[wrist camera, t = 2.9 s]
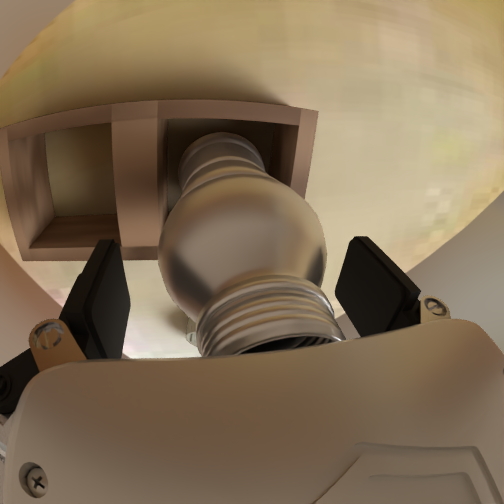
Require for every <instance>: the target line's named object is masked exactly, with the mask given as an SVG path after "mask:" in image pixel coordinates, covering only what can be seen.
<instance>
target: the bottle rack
mask: <svg viewBox="0 0 504 504" xmlns="http://www.w3.org/2000/svg"><path fill="white" fill-rule="evenodd" d="M168 118H213V119H236V120H251V121H263V122H274V123H275V127H274V136H273V144H272V152H271V161H270V169H269V176H271V177H272V178H274V179H276V180H278V181H279V182H281V183H283V184H285V185H287V186H288V187H290V188H291V189H292V190H293V191H295V192H296V193H297V194H298V195H299V196H300V197H302V198H303V199H305V193H306V188H307V182H308V176H309V170H310V164H311V158H312V152H313V145H314V139H315V132H316V125H317V118H318V111H315V110H309V109H303V108H297V107H291V106H284V105H276V104H267V103H258V102H246V101H232V100H208V99H171V100H148V101H134V102H123V103H114V104H106V105H98V106H91V107H85V108H79V109H73V110H68V111H63V112H58V113H54V114H49V115H45V116H41V117H37V118H33V119H29V120H26V121H22V122H19V123H15V124H12V125H9V126H6V127H3V128H0V169H1V176H2V182H3V188H4V193H5V198H6V203H7V207H8V212H9V216H10V220H11V224H12V228H13V231H14V235H15V238H16V242H17V245H18V248H19V251H20V254H21V257H22V260H23V261H88V260H89V258H90V256H91V254H92V252H93V250H94V248H95V246H96V245H97V243H98V241H99V240H101V239H114V241H115V243H119V244H120V249H121V255H122V260H158V245H159V239H160V235H161V233H162V230H163V228H164V225H165V223H166V221H167V218H168V216H169V214H170V212H168V202H167V127H168ZM109 122H112V157H113V174H114V186H115V197H116V207H117V214H103V215H83V216H67V217H55V213H54V207H53V202H52V196H51V190H50V183H49V176H48V168H47V159H46V148H45V133H46V132H50V131H56V130H61V129H66V128H72V127H79V126H85V125H92V124H100V123H109Z"/></svg>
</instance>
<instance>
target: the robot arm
mask: <svg viewBox="0 0 504 504" xmlns="http://www.w3.org/2000/svg"><path fill="white" fill-rule="evenodd" d="M420 292H421V290H420V289H419V288H418V287H417V286H416V285H415V284H414V283H413V282H412V281H411V280H410V278H409V277H408V276H407V275H406V274H405V273H404V272H403V271H402V270H401V269H400V268H399V267H398V266H397V265H396V264H395V263H394V262H393V261H392V260H391V259H390V258H389V257H388V256H387V255H386V254H385V253H384V252H383V251H382V250H381V249H380V248H379V247H378V246H377V245H376V244H375V243H374V242H373V241H372V240H371V239H370V238H369V237H367V236H355V237H354V238H353V240H351V241H350V242H349V246H348V249H347V252H346V256H345V259H344V263H343V266H342V269H341V272H340V276H339V279H338V282H337V285H336V288H335V296H336V298H337V300H338V301H339V303H340V304H341V306H342V307H343V309H344V311H345V312H346V314H347V315H348V317H349V319H350V320H351V322H352V323H353V325H354V327H355V328H356V330H357V331H358V333H359V335H360V336H361V337H360V338H355V339H349V340H344V341H338V342H333V343H327V344H320V345H314V346H307V347H301V348H293V349H286V350H278V351H269V352H260V353H250V354H239V355H226V356H211V357H190V358H141V359H121V356H122V350H123V344H124V338H125V332H126V327H127V321H128V316H129V311H130V296H129V291H128V287H127V282H126V277H125V272H124V266H123V261H122V255H121V249H120V244H119V243H115V241H114V239H101V240H99V241H98V243H97V245H96V246H95V248H94V250H93V252H92V254H91V256H90V258H89V260H88V262H87V263H86V265H85V267H84V269H83V271H82V273H81V274H79V276H78V277H77V279H76V281H75V283H74V285H73V287H72V289H71V292H70V294H69V296H68V298H67V300H66V303H65V305H64V307H63V309H62V312H61V314H60V316H59V319H47V320H44V321H42V322H40V323H39V324H37V325H36V326H35V327H34V328H33V329H32V331H31V333H30V335H29V346H30V348H29V349H27V350H26V351H24V352H23V353H21V354H20V355H18V356H17V357H15V358H13V359H12V360H10V361H9V362H7V363H6V364H4V365H3V366H1V367H0V504H504V354H503V353H502V351H501V350H500V349H499V348H498V346H497V345H496V344H495V342H493V340H492V339H491V338H490V337H489V336H488V334H487V333H486V332H485V331H484V330H483V329H482V328H481V327H480V326H479V325H477V324H476V323H474V322H471V321H467V320H462V319H451V317H450V311H449V308H448V307H447V305H446V304H445V303H444V302H443V301H441V300H440V299H438V298H436V297H433V296H428V295H427V296H424V297H422V298H421V300H420V301H419V300H418V296H419V294H420Z"/></svg>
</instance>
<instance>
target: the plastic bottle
mask: <svg viewBox="0 0 504 504" xmlns="http://www.w3.org/2000/svg"><path fill="white" fill-rule="evenodd" d="M178 176H179V182H180V187H181V190H182V194H181V197H180V198H179V200H178V201H177V203H176V204H175V206H174V208H173V209H172V211H171V212H170V214H169V216H168V218H167V221H166V223H165V225H164V228H163V230H162V233H161V235H160V239H159V245H158V265H159V268H160V271H161V274H162V278H163V281H164V284H165V287H166V290H167V292H168V293H169V295H170V297H171V298H172V300H173V301H174V302H175V303H176V304H177V306H178V307H179V308H180V309H181V310H182V311H184V312H185V313H186V314H187V315H188V316H189V317H190V318H191V319H192V320H193V321H194V322H195V323H196V343H197V347H198V350H199V353H200V354H201V356H202V357H211V356H226V355H239V354H250V353H260V352H269V351H278V350H286V349H293V348H301V347H307V346H314V345H320V344H327V343H333V342H338V341H344V340H346V338H345V336H344V335H343V333H342V331H341V329H340V327H339V326H338V324H337V322H336V321H335V319H334V311H333V309H332V306H331V304H330V302H329V300H328V299H327V297H326V295H325V294H324V293H323V291H322V290H321V289H320V288H321V285H322V282H323V277H324V273H325V268H326V261H327V250H326V243H325V238H324V233H323V229H322V226H321V223H320V221H319V219H318V216H317V214H316V213H315V212H314V210H313V209H312V208H311V206H310V205H309V203H307V202H306V201H305V200H304V199H303V198H302V197H300V196H299V195H298V194H297V193H296V192H295V191H293V190H292V189H291V188H290V187H288V186H287V185H285V184H283V183H281V182H279V181H278V180H276V179H274V178H272V177H271V176H269V175H268V174H267V173H266V172H265V167H264V163H263V160H262V157H261V155H260V153H259V151H258V150H257V149H256V147H255V146H254V145H253V144H252V143H251V142H249V141H248V140H247V139H245V138H243V137H241V136H239V135H237V134H233V133H227V132H217V133H211V134H208V135H205V136H203V137H201V138H199V139H197V140H196V141H194V142H193V143H192V144H191V145H190V146H189V147H188V148H187V149H186V150H185V152H184V154H183V156H182V158H181V160H180V163H179V169H178Z"/></svg>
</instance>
